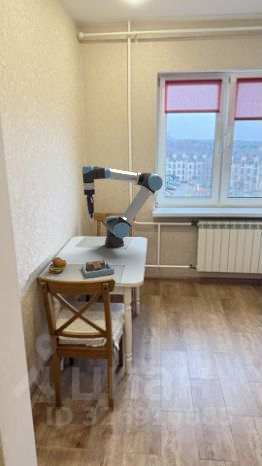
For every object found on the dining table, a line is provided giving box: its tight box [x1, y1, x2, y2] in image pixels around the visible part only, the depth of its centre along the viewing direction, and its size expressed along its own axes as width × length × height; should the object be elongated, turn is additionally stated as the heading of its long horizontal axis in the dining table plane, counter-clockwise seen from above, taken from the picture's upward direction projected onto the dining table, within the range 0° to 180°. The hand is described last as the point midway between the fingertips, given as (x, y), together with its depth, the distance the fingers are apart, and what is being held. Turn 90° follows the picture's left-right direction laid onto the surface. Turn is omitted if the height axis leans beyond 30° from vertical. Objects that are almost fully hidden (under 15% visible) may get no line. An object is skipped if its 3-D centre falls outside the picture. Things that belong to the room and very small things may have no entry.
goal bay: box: [81, 261, 115, 278], centre depth 203 cm, size 17×15×3 cm
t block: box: [85, 259, 106, 271], centre depth 205 cm, size 12×12×4 cm
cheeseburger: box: [47, 256, 67, 274], centre depth 205 cm, size 10×11×10 cm
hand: (91, 222), depth 228 cm, fingers closed
